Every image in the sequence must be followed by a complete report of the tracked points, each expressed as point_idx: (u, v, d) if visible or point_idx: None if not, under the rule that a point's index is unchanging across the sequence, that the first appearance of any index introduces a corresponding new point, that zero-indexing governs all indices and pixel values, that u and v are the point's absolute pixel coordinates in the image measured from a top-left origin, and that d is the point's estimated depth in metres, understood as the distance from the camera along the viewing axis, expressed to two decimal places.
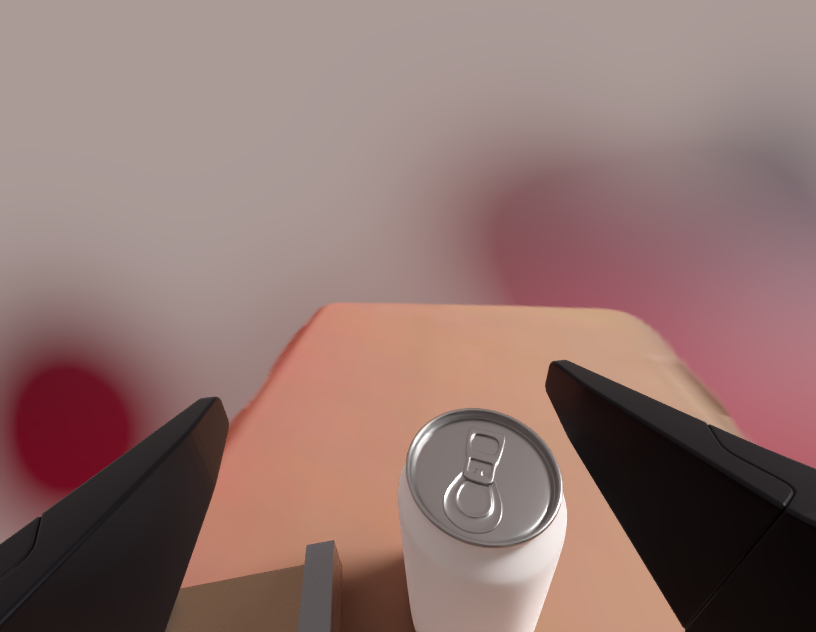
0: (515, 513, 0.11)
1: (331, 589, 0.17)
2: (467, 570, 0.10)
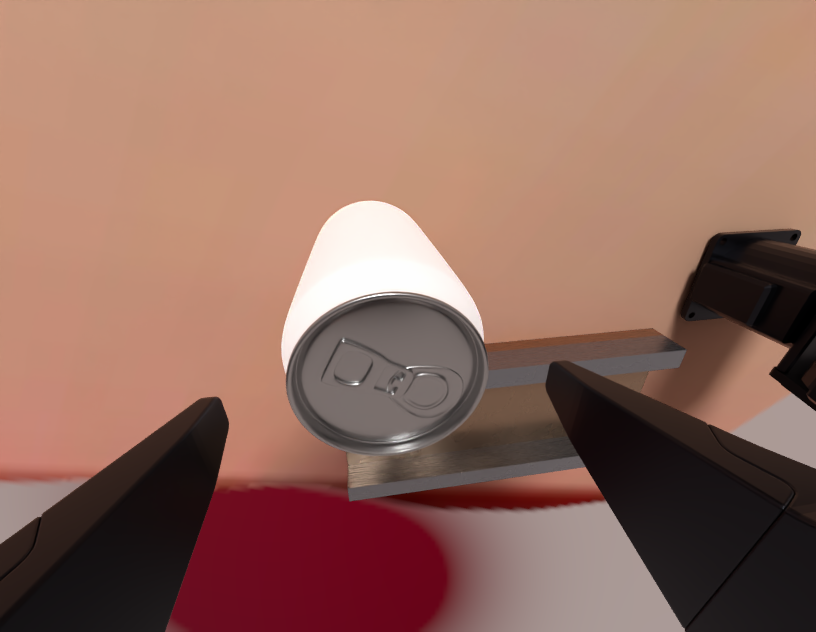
0: (452, 356, 0.09)
1: None
2: None
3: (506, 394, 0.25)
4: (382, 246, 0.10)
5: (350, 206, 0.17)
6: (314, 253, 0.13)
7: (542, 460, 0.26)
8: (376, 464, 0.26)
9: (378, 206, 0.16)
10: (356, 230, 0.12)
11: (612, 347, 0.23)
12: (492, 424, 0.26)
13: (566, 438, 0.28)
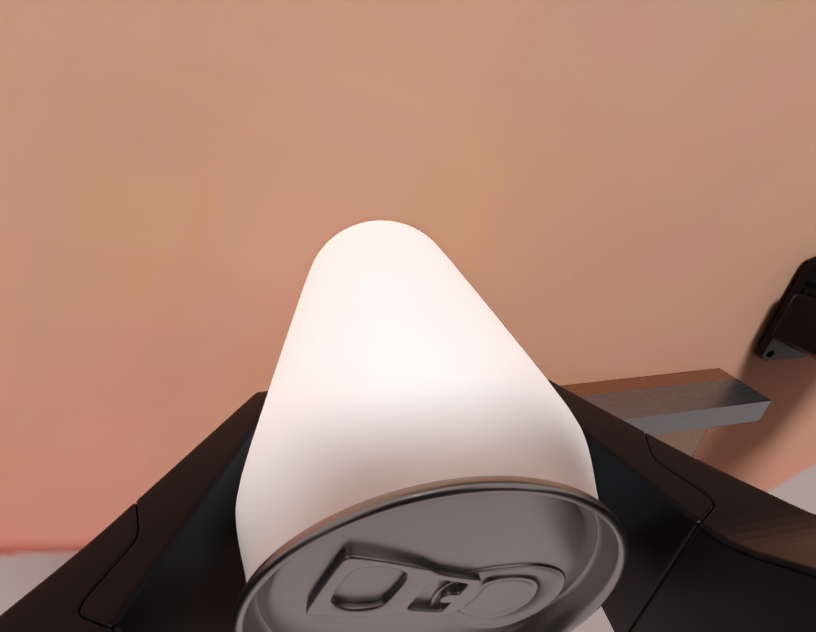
0: (554, 548, 0.05)
1: None
2: None
3: None
4: (418, 331, 0.05)
5: (354, 229, 0.13)
6: (301, 314, 0.08)
7: None
8: None
9: (393, 231, 0.12)
10: (367, 283, 0.08)
11: (678, 396, 0.19)
12: None
13: None
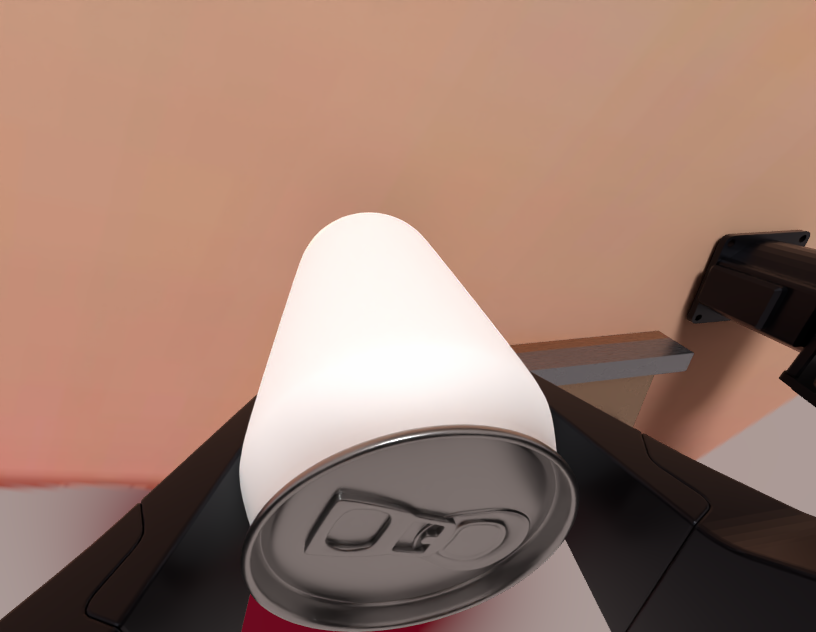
0: (518, 494, 0.06)
1: None
2: None
3: None
4: (399, 311, 0.06)
5: (343, 221, 0.13)
6: (294, 300, 0.09)
7: None
8: None
9: (380, 222, 0.12)
10: (354, 270, 0.08)
11: (618, 350, 0.23)
12: None
13: None
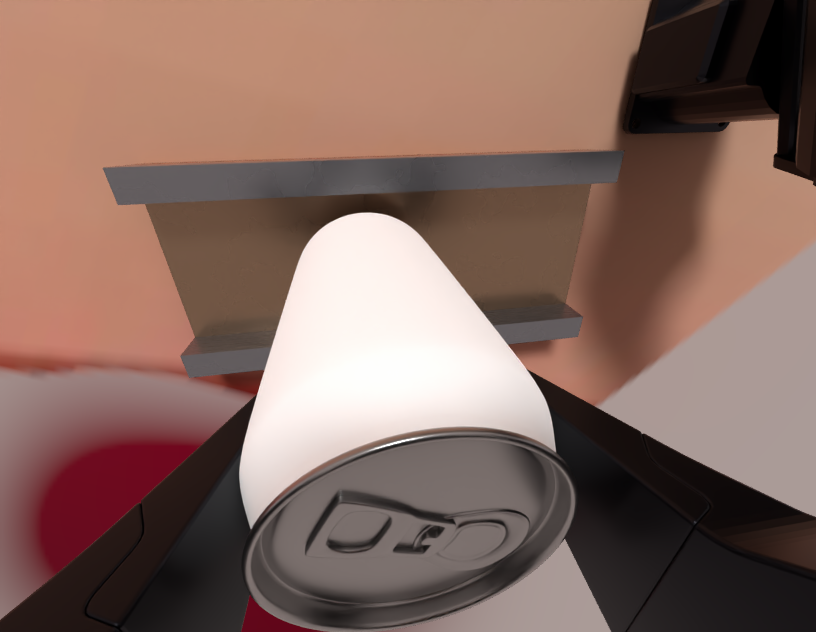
0: (518, 495, 0.06)
1: (162, 166, 0.14)
2: None
3: None
4: (399, 313, 0.06)
5: (341, 221, 0.13)
6: (292, 301, 0.09)
7: None
8: (231, 336, 0.20)
9: (378, 222, 0.12)
10: (353, 271, 0.08)
11: None
12: None
13: (487, 312, 0.22)
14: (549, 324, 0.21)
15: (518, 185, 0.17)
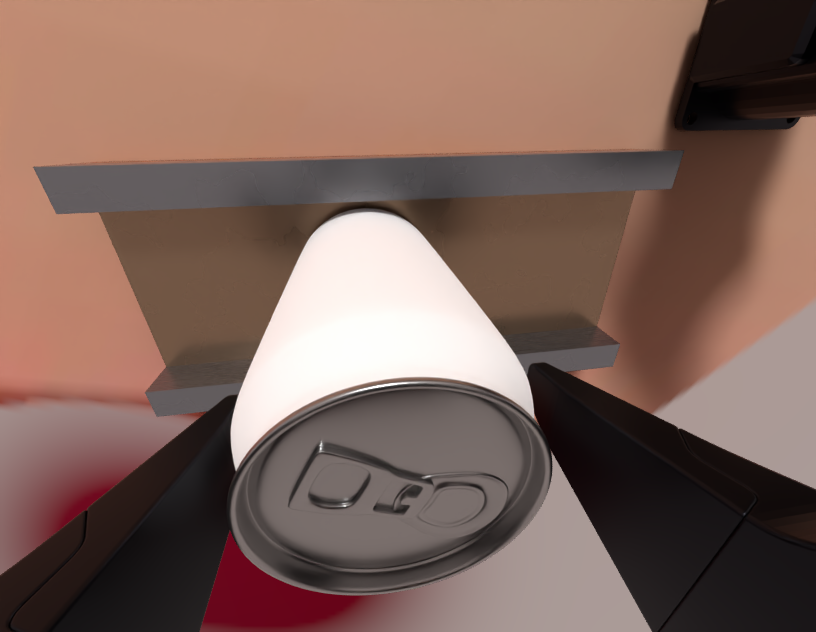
0: (494, 458, 0.06)
1: (111, 165, 0.11)
2: None
3: None
4: (383, 284, 0.07)
5: (341, 215, 0.14)
6: (289, 284, 0.09)
7: None
8: (209, 365, 0.17)
9: (376, 216, 0.13)
10: (346, 253, 0.09)
11: (563, 152, 0.14)
12: None
13: (507, 337, 0.19)
14: (580, 353, 0.18)
15: (554, 192, 0.14)
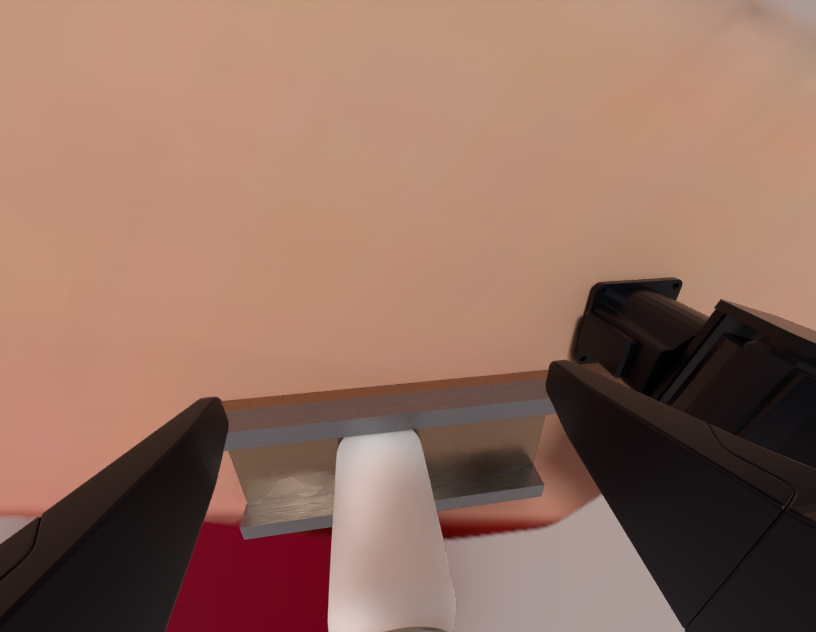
0: None
1: (242, 431, 0.20)
2: None
3: None
4: (391, 560, 0.16)
5: None
6: (344, 518, 0.19)
7: (440, 498, 0.26)
8: (275, 501, 0.26)
9: (386, 442, 0.22)
10: (373, 513, 0.18)
11: (498, 392, 0.23)
12: None
13: (471, 475, 0.28)
14: (518, 491, 0.27)
15: (492, 419, 0.23)
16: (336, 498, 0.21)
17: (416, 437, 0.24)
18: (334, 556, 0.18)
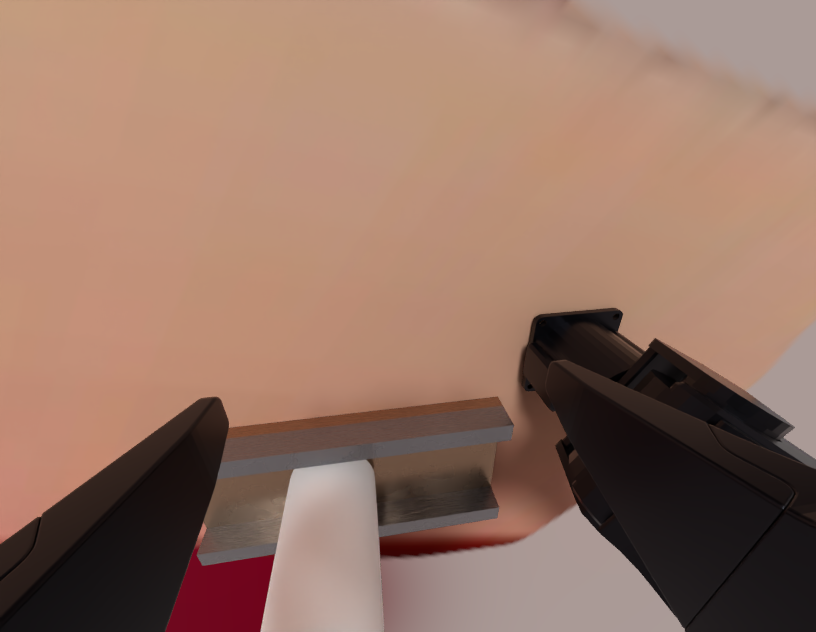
0: None
1: None
2: None
3: None
4: (316, 599, 0.16)
5: None
6: (281, 553, 0.19)
7: (395, 523, 0.27)
8: (234, 527, 0.27)
9: (332, 473, 0.23)
10: (307, 549, 0.19)
11: (445, 422, 0.24)
12: None
13: (428, 497, 0.29)
14: (473, 513, 0.28)
15: (438, 449, 0.24)
16: (280, 530, 0.21)
17: (367, 465, 0.25)
18: (269, 591, 0.18)
